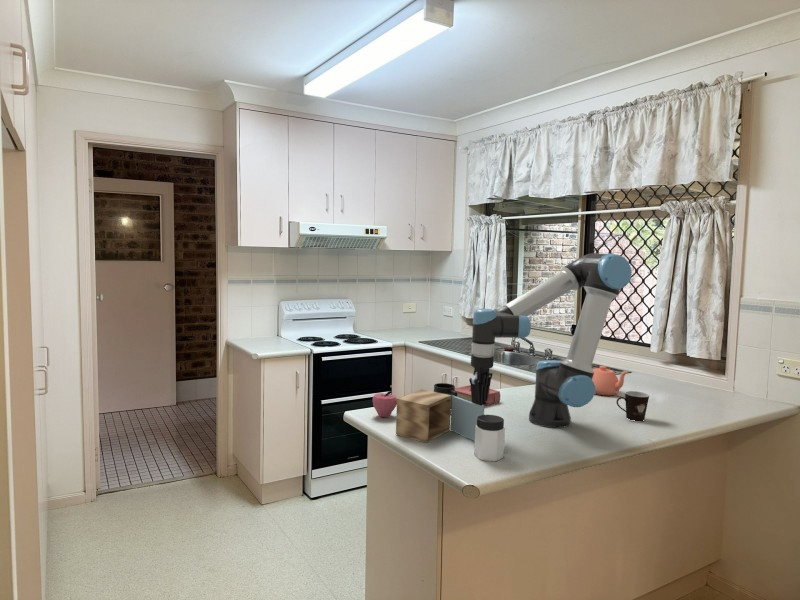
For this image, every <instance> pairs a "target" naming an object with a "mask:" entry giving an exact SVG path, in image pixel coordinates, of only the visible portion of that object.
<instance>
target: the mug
mask: <svg viewBox="0 0 800 600" xmlns="http://www.w3.org/2000/svg"><path fill="white" fill-rule="evenodd" d="M455 388H456V386H455V385H454V384H452V383H444V382H440V383H435V384H434V385H433V392H437V393H442V394H447V395H451V403H452V395H455V396H456V397H457V392H456V391H455Z"/></svg>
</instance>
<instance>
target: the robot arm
mask: <svg viewBox="0 0 800 600" xmlns="http://www.w3.org/2000/svg"><path fill="white" fill-rule="evenodd" d="M631 279H632V268H631V265H630V263H629V261H628V259H627V258H625V257H624V256H622V255H619V254H615V253H612V252H611V253H597V252H594V253H588V254H585V255H583V256H580V257H579V258H576V259H575V260H573V261H572V262H569V263H568V264H567V265H565V266H563V267H562V268H561V269H560V272H559V273H557V274H555V275H553V276H552V277H550V278H549V279H547V280H545V281H543V282H542V283H540V284H539V285H537V286H535V287H533V288H532V289H530V290H528V291H527V292H525V293H523V294H521V295H520V296H518V297H516V298H514V299H513V300H511V301H509V302H508V303H506V304H505V305H503V306H500V307H499V308H497V309H493V308H477V309H474V311H473V316H472V332H471V333H472V335H471V337H472V338H471V344H470V346H471V352H470V353H471V356H470V366H471V367H473V368H474V369H473V377H470V378H469V383H470V384H469V385H471V398H472V402H473V403H475V404H478V405H481V406H484V405H487V403H486V402H485V401H487V400H488V395H489V389H491V383H492V378H493V372H490V369H492V368H493V367H494V362H495V361H494V359H495V357H494V355H495V346H496V345H495V342H496V341H495V339H496V338H498V339H499V338H509V339H510V338H512V339H513V338H514V339H515V338H517V339H520V338H523V339H524V338H527V337H529V335H530V333H531V328H532V323H531V321H530V320H531V319H530V318H529V317H528V316H530V315H532V314H533V313H535V312H536V311H538V310H540V309H541V308H543V307H545V306H546V305H548V304H551V303H552V302H553V301H555V300H557V299H559V298H560V297H562V296H564V295H565V294H567V293H570V291H571V292H572V291H577V290H580V289H581V288H583V289H584V290H585V292H586V295H585V298H584V302H583V304H582V307H581V310H580V314H579V318H578V321H577V324H576V327H575V330H574V333H573V336H572V339H571V343H570V345H569V346H570V347H569V349H568V352H567V356H566V358H565V359H563V360H551V359H550V360H549V359H548V360H545V359H544V360H539V361H538V362H537V364H536V369H535V386H534V387H535V389H534V390H535V391H534V400H533V403H532V406H531V407H530V410H529V413H528V420H529V421H530V422H531V423H533V424H535V425H538V426H541V427H548V428H566V427H569V426H570V425H571V422H572V419H571V414H570V413H571V412H570V410H569V407H571V408H581V407H585V406H586V405H588V404H589V403H590V402H592V400H593V398H594V397H595V395H596V394H595V385H594V382H593V381H592V378H593V375H594V371H593V369H594V368H593V367H592V366H593V361H594V359H595V355H596V352H597V350H598V346H599V344H600V340H601V336H602V333H603V330H604V326H605V323H606V320H607V317H608V313H609V312H610V311H609V310H610V308H611V305H612V301H613V300H614V299H616V298H618V297H619V295H620V291H621V289H623V288H624V287H626V286H627V285H629V283H630V281H631ZM487 406H488V405H487Z"/></svg>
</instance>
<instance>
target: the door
mask: <svg viewBox="0 0 800 600" xmlns="http://www.w3.org/2000/svg"><path fill="white" fill-rule="evenodd" d="M485 407H486V406H485ZM485 407H484V406H481V405H478V404H475V403H473V402H470V401H467V400H464V399H462V398H459V397H456V396H455V395H452V403H451V416H450V430H449V431H451V432H454V433H457V434H459V435H461V436H463V437H466V438H468V439H470V440H472V441H474V442H475V426H476V425H477V417H478V416H480V415H485Z"/></svg>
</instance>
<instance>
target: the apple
mask: <svg viewBox="0 0 800 600" xmlns="http://www.w3.org/2000/svg"><path fill="white" fill-rule="evenodd" d="M397 399H398V398H397V397H396V395H394V394H392V391H391V390H389V391H387V392H386V393H384V392H383V393H382V392H379V393H375V394H374V395H373V397H372V405H373V408H374V410H375V412H376V413H377V415H378V416H379V417H380V418H389V417H391V416H392V413H393V412H394V410H395V408H397Z"/></svg>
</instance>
